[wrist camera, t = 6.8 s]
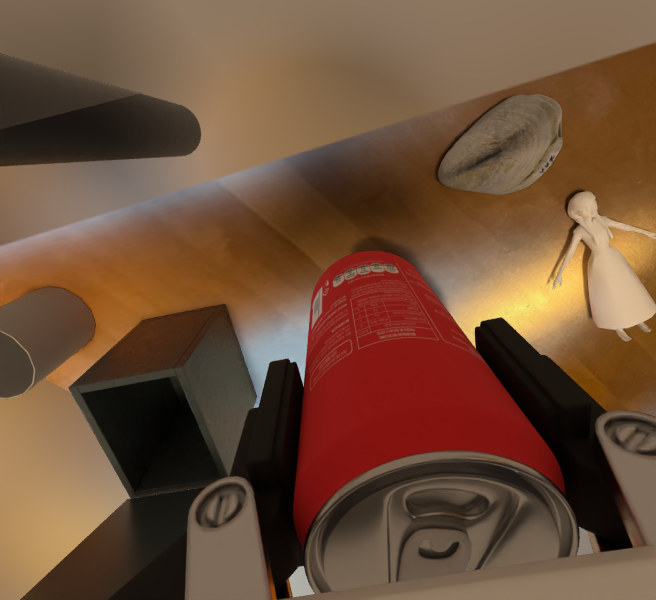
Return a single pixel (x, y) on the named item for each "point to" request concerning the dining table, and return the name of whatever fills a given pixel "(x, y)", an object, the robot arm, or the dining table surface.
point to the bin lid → (118, 548)
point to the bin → (170, 401)
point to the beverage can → (413, 442)
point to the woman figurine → (608, 270)
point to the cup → (40, 336)
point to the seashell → (505, 147)
